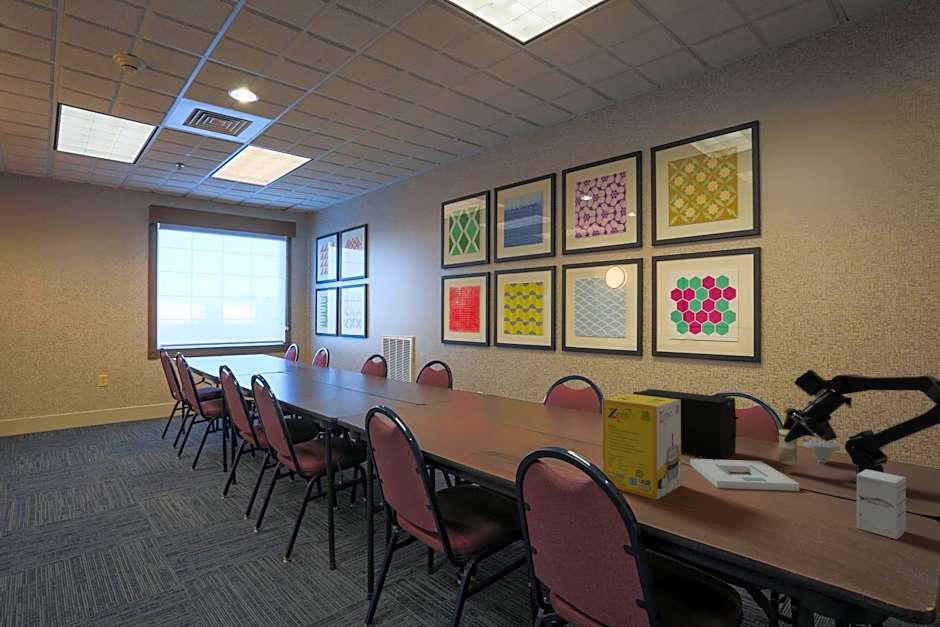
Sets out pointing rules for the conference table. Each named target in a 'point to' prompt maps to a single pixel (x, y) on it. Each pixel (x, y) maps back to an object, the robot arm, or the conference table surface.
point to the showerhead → (821, 449)
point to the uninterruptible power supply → (704, 423)
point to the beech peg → (787, 449)
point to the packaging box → (642, 443)
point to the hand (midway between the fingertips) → (782, 439)
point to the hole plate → (759, 479)
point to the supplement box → (881, 503)
